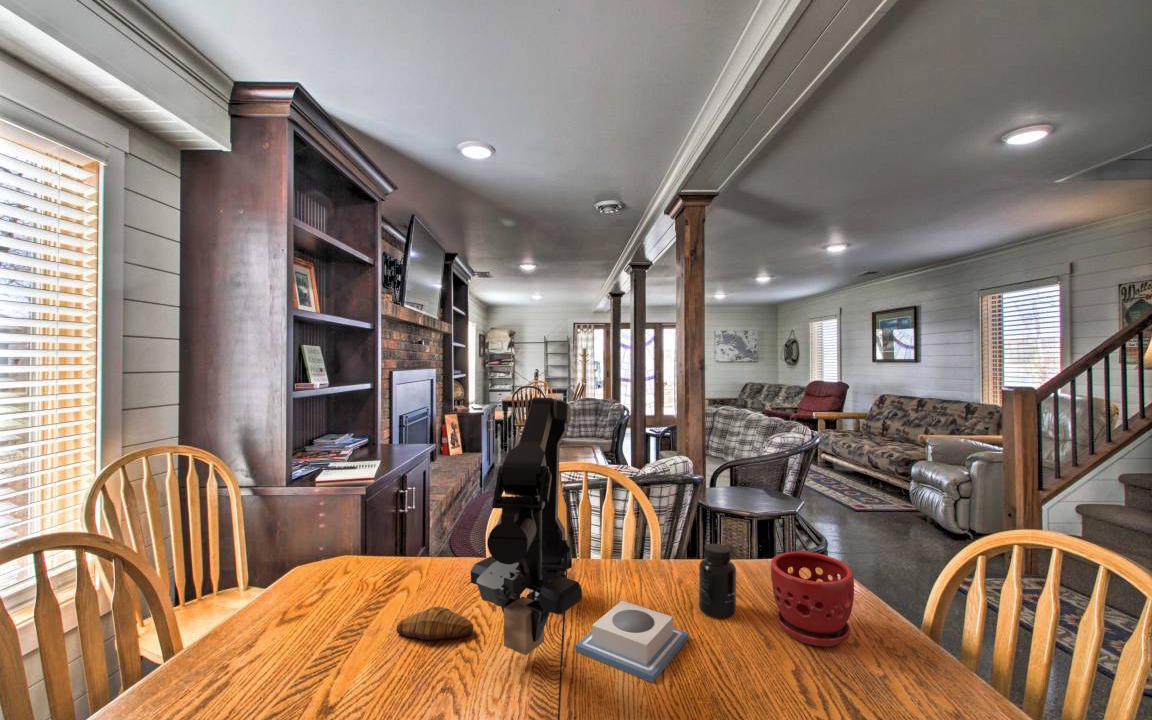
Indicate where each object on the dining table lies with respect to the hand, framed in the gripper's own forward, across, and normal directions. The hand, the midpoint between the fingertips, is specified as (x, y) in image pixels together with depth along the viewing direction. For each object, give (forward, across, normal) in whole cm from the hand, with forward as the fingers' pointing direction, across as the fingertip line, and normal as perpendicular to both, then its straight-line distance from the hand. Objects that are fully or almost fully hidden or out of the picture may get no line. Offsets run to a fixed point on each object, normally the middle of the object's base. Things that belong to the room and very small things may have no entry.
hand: (524, 635), depth 78 cm
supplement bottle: (+4, +20, +33) cm, 39 cm away
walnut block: (+1, 0, 0) cm, 1 cm away
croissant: (+5, -18, -3) cm, 19 cm away
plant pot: (+4, +36, +35) cm, 50 cm away
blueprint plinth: (+4, +12, +14) cm, 19 cm away
